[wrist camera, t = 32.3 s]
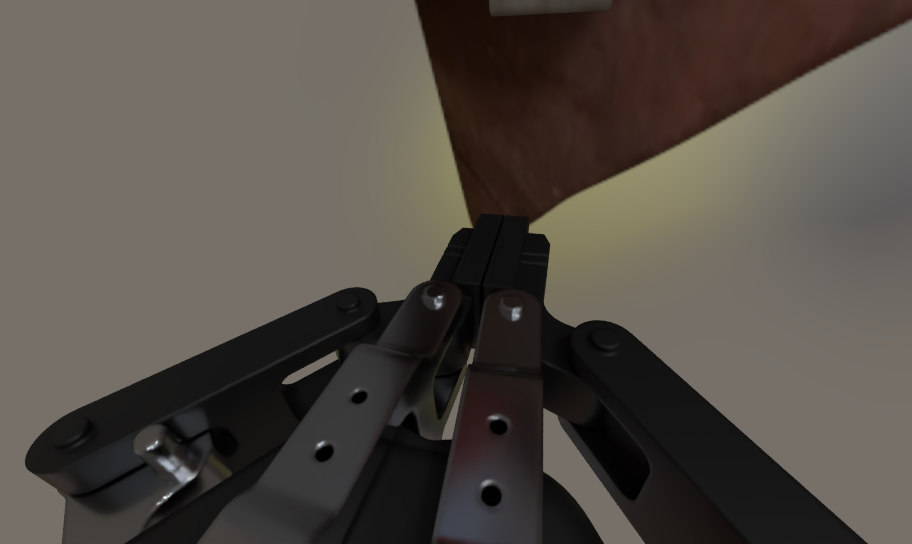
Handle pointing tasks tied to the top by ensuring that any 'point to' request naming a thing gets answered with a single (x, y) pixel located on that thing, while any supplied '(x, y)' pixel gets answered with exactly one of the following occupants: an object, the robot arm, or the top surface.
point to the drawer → (545, 6)
